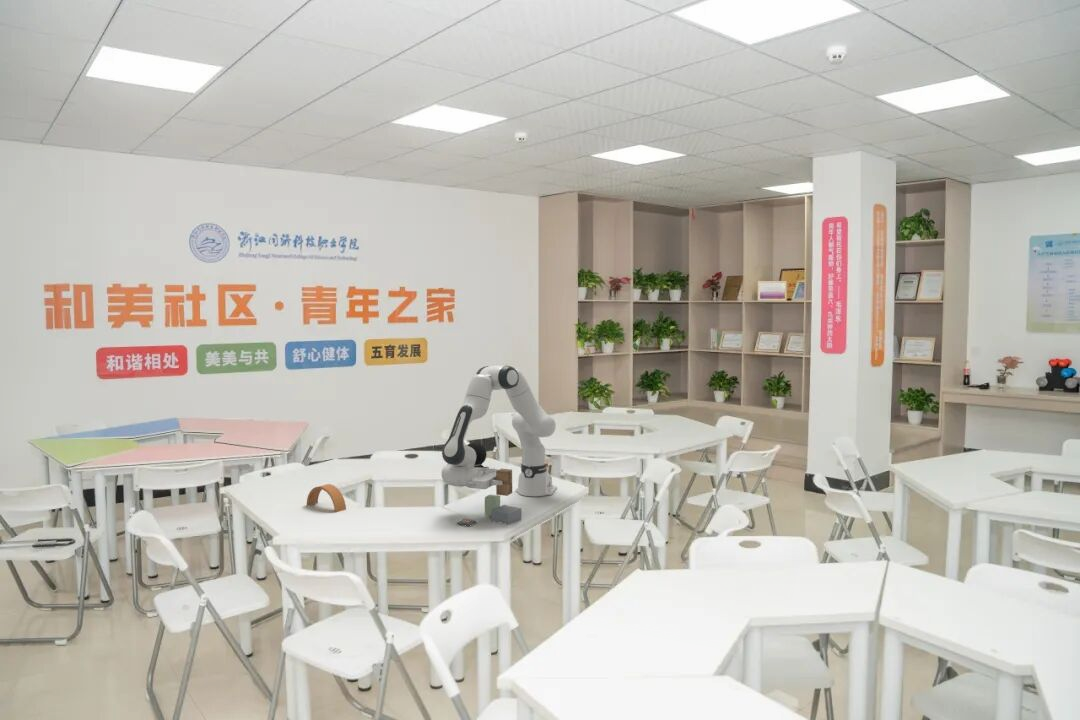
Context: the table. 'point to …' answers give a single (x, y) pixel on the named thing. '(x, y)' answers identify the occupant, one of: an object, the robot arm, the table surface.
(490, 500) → the sage green block
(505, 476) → the walnut block
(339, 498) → the orange brown arch
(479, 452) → the snow globe
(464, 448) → the robot arm
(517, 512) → the slate base block
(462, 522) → the card
